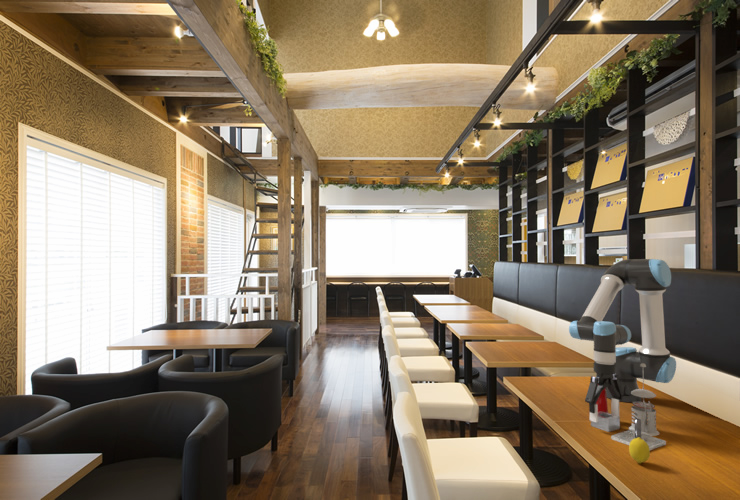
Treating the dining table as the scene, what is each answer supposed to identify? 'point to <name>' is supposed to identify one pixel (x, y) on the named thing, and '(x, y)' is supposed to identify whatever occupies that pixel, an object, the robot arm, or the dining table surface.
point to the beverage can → (602, 402)
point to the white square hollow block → (607, 422)
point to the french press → (644, 411)
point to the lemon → (639, 450)
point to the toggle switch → (631, 434)
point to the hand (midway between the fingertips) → (604, 418)
